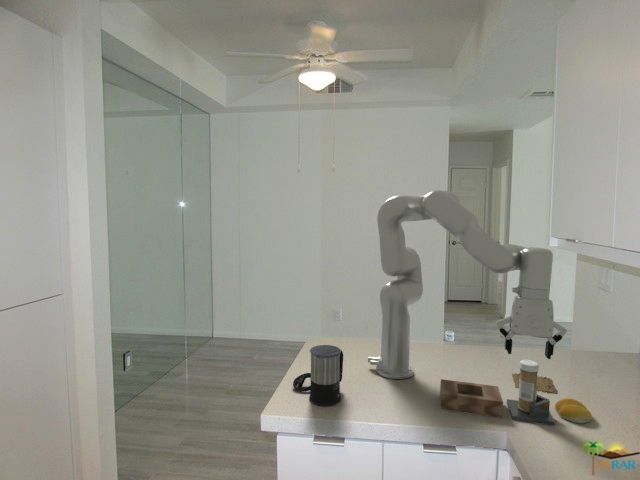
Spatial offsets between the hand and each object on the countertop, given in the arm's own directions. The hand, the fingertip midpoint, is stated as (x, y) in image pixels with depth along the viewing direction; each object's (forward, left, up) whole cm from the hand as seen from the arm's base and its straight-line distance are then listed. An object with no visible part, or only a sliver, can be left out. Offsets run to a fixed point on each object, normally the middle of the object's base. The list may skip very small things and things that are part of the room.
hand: (528, 354), depth 111 cm
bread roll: (+12, +2, -17) cm, 21 cm away
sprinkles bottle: (0, 0, -16) cm, 16 cm away
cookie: (+7, +22, -17) cm, 28 cm away
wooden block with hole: (-14, 0, -16) cm, 22 cm away
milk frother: (-58, -7, -17) cm, 61 cm away
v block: (+1, 0, -16) cm, 16 cm away
